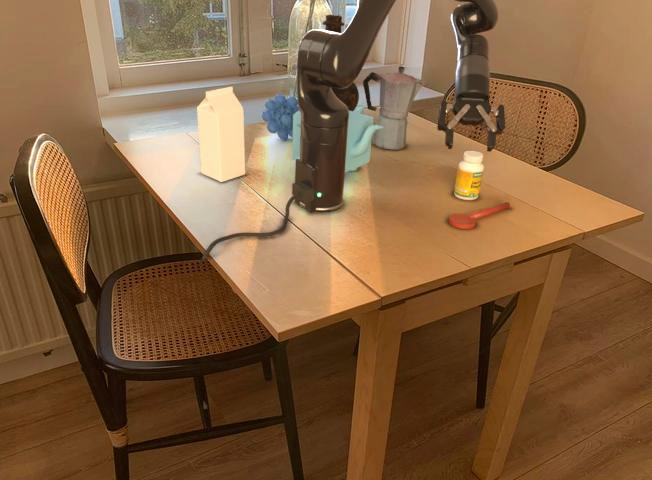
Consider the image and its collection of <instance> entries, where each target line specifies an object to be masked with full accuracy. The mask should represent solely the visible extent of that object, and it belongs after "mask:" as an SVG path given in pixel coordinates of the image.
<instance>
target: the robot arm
mask: <svg viewBox="0 0 652 480" xmlns="http://www.w3.org/2000/svg"><path fill="white" fill-rule="evenodd" d="M396 1H397V0H357V7H356V10H355V13H354V15H353V17H352V18H351V21H350V23H349V24H348V26H347V27H346V28H345V30H344V31H343V32H341V33H336V32H331V31H325V29H317V28H316V29H311V30H309V31H307V32H306V33H305V34H304V35H303V37H302V38H301V40H300V42H299V45H298V48H297V54H296V100H297V106H299V109H300V112H301V132H300V158H297V159H296V161H295V160H294V161H295V163H294V164H295V165H294V166H295V167H294V182H292V183H291V192H292V193H291V195H292V196H291V197H290V198H289V199H288V201H287V202H286V205H285V213H284V218H283V223H282V226H281V227H280V228H278V229H276V230H273V231H269V232H237V233H232V234H228V235H225V236H221V237H219V238H216V239H215V240H213V241H212V242H211V243H210V244H209V246H207V248H206V249H205V251H204V253H203V255H202V257H201V260H206V259H207V258H208V256H209V255H210V253H211V252H212V250H213V249H214V248H215V246H217V245H218V244H220V243H222V242H225V241H228V240H232V239H235V238H241V237H242V238H243V237H245V238H246V237H253V238H254V237H256V238H263V237H264V238H265V237H266V238H267V237H272V236H275V235H277V234H280V233H282V232H284V231H286V228H287V224H288V221H289V218H290V208H291V205H292V204H293V202H294V203H295V204H296V205H298V206H299V207H301V208H302V209H305V210H306V211H307V212H309V213H311V214H312V213H331V212H335V211H338V210H339V209H341V208H342V207H343V206H344V190H345V176H346V175H345V174H346V173H345V163H346V149H347V135H348V121H349V109H348V107H347V106H346V105H345V104H344V103H343V102H342V101H340V100H339V99H338V98H337V97H336V95H335V94H334V93H333V91H332V88H331V87H333V88H338V89H344V88H347V87H349V86H350V85H351V84H352V83H353V82H354V83H355V81H356V80H357V79H358V76H360V73H361V72H362V70H363V68H364V66H365V64H366V61H367V59H368V57H369V55H370V53H371V51H372V48H373V46H374V43H375V42H376V40H377V37H378V35H379V33H380V30H381V29H382V27H383V25H384V24H385V21H386V20H387V18H388V15H389V13H390V12H391V10H392V8H393V6H394V4H395V3H396ZM454 1H455V2H458V3H460V4H457V5H456V6H455V7H454V8H453V9H452V11H451V14H450V27H451V29H452V32H453V35H454V39H455V44H456V68H455V72H454V96H453V97H454V99H453V100H454V101H453V103H448V102H447V101H446V100H442V101H441V103H440V105H439V109H438V116H437V117H438V118H437V125H436V126H437V127H436V129H437V131H439V132H441V131H442V132H444V133H445V139H444V144H445V147H447V149H448V150H452V149H453V147H454V131H455V130H454V129H456V128H457V127H458V126H459V125H460V124H461V125H462V126H468V125H469V126H472V127H473V126H474V127H477V126H479V127H480V128H481V129H482V130H483V131H485V133H486V134H487V138H486V152H488V153H489V152H490V153H491V152H492V150H494V148H495V147H496V144H497V135H499V136H501V135H503V132H504V130H505V129H506V118H505V117H506V114H505V105H504V104H499V105H498V106H492V105H491V103H490V89H491V87H490V85H491V83H490V81H491V79H490V77H491V70H490V42H489V40H488V38H487V37H486V36H484V35H481V33H486V32H489V31H492V30H493V29H494V28H495V27H496V26H497V24H498V22H499V18H500V13H499V8H498V4H497V3H496V1H495V0H454ZM450 111H451V112H452V114H453V115H454V116H453V118H452V119H451V120H450V122H449V123H447V122H446V116H447V115H448V114H449V112H450ZM490 113H491V114H492V116H493V118H495V124H494V122H493V121H492V118H491V116H490ZM202 404H203V406H202V407H203V409H204V410H207V409H208V405H207V404H206V402H205V401H204V400H202Z"/></svg>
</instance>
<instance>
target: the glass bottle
mask: <svg viewBox="0 0 652 480" xmlns="http://www.w3.org/2000/svg"><path fill="white" fill-rule="evenodd" d="M342 18H343V16H342V15H339V14H338V15H334V14H327V15H325V20H323V21H322V25H324V26H325V29H324V30H325V31H331V32H336V33H342V27H344V26H345V23H344V22H342V21H343V20H342ZM331 88H332V91H333V93H334V94H335V95H336V97H337V98H338V99H339V100H340V101H342V102H343V103H344V104H345V105H346V106H347V107H348V109H349V111H354V110H355V108H356V107H357V106H358V105H359V101H360V93H359V92H360V91H359V89H358V86H357V84H356V83H355V81H354V82H353V83H352V84H351V85H350V86H349V87H347V88H344V89H338V88H333V87H331Z"/></svg>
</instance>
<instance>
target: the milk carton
mask: <svg viewBox="0 0 652 480" xmlns="http://www.w3.org/2000/svg"><path fill="white" fill-rule="evenodd" d="M244 111H245V109H244V107H243V106H242V104H241V102H240V101H239V99H238V98H237V96H236V94H235V93H234V89H233V86H227V87H222V88H217V89H213V90H207V91H205V97H204V99H203V100H202V101H201V102H200V103H199V104H198V106H197V107H196V115H197V117H196V118H197V128H198V142H199V143H198V144H199V158H200V171H201V174H202V175H203V176H207V177H209V178H211V179H213V180H216V181H218V182H220V183H223V182H226V181H227V182H228V181H230V180H232V179H236V178H238V177H241V176H244V175H246V153H245V152H246V151H245V149H246V148H245V115H244V114H245V113H244Z"/></svg>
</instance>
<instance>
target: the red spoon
mask: <svg viewBox="0 0 652 480" xmlns="http://www.w3.org/2000/svg"><path fill="white" fill-rule="evenodd" d="M510 207H511V203H510V202H509V201H505V202H502V203H499V204H496V205H493V206H489V207H487V208H483V209H481V210H478V211H475V212H472V213H469V214H467V213H453V214H451V215H449V218H448V223H449V224H450V226H452V227H454V228H456V229H461V230H469V229H473V228H475V227H476V224H477V220H478V219H481V218H484V217H487V216H490V215H492V214H495V213H499V212H502V211H506V210H508V209H510Z"/></svg>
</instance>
